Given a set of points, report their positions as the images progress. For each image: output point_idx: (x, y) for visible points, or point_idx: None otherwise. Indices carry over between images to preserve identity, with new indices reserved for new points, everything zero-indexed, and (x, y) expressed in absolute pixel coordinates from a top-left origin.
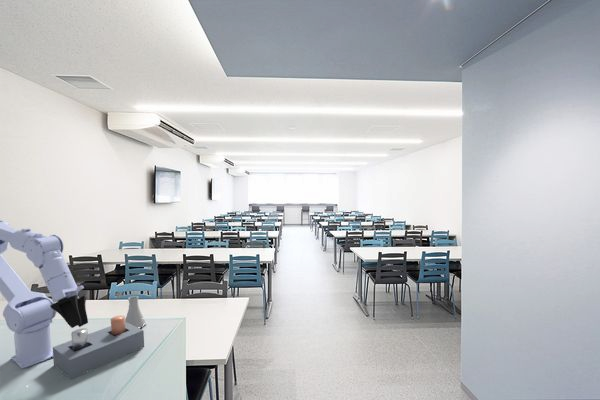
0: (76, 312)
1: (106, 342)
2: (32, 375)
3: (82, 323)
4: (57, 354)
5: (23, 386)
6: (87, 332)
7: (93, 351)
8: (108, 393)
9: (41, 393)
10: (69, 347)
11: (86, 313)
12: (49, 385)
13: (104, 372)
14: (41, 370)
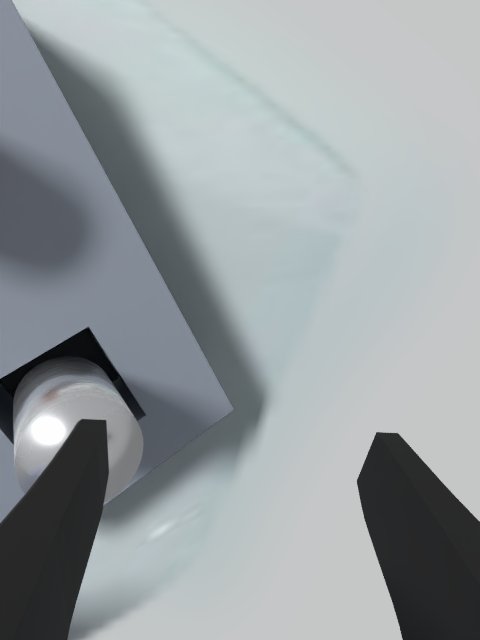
0: (477, 528)
1: (92, 239)
2: None
3: (104, 463)
4: None
5: (158, 543)
6: (83, 390)
7: (177, 308)
8: (354, 219)
9: (242, 451)
10: None
11: (27, 492)
12: (199, 445)
13: (202, 242)
14: None
